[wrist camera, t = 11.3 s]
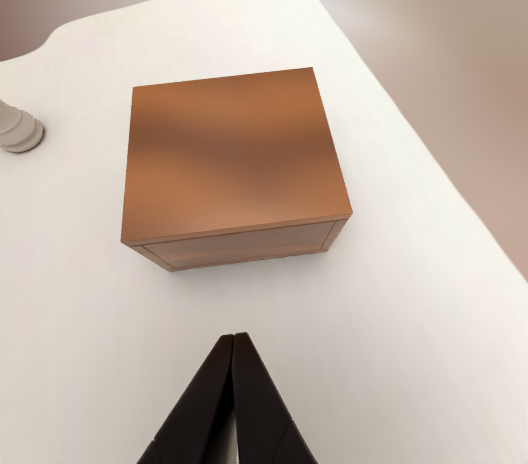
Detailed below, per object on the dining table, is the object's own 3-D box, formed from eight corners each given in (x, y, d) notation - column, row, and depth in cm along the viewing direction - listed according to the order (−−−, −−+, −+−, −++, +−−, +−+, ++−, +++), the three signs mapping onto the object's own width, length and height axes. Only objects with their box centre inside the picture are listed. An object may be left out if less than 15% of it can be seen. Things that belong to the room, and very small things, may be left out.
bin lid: (137, 95, 20) (132, 86, 20) (311, 76, 21) (312, 66, 20) (127, 246, 16) (120, 242, 15) (349, 218, 16) (353, 213, 15)
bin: (169, 158, 26) (137, 103, 20) (302, 143, 27) (312, 83, 20) (168, 271, 22) (127, 246, 16) (327, 251, 23) (349, 219, 16)
